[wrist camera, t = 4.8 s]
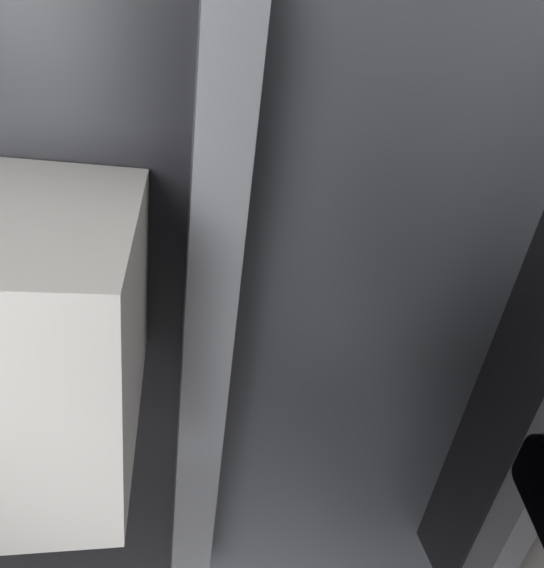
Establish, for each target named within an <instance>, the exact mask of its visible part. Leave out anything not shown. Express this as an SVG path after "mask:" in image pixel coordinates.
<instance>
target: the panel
mask: <svg viewBox="0 0 544 568" xmlns="http://www.w3.org/2000/svg"><path fill="white" fill-rule="evenodd" d="M0 157H9V158H21V159H33V160H46V161H58V162H70V163H82V164H94V165H106V166H118V167H131V168H143V169H149V197H148V277H147V343H146V352H145V361H144V371H143V380H142V389H141V398H140V407H139V417H138V426H137V435H136V444H135V453H134V463H133V472H132V481H131V490H130V499H129V509H128V518H127V527H126V536H125V545H124V547H117V548H103V549H89V550H75V551H61V552H47V553H33V554H19V555H5V556H0V568H519V567H520V565H521V563H522V562H523V560H524V558H525V556H526V554H527V553H528V551H529V549H530V547H531V546H532V544H533V542H534V540H535V539H536V537H537V533H536V531H535V528H534V526H533V524H532V522H531V519H530V517H529V515H528V512H527V510H526V508H525V506H524V503H523V501H522V499H521V497H520V494H519V492H518V490H517V488H516V485H515V483H514V481H513V478H512V473H511V468H512V464H513V462H514V460H515V458H516V455H517V453H518V451H519V449H520V447H521V445H522V443H523V441H524V439H525V438H526V437H527V436H528V435H530V434H543V433H544V0H0Z"/></svg>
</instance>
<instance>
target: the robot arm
mask: <svg viewBox="0 0 544 568" xmlns="http://www.w3.org/2000/svg"><path fill="white" fill-rule="evenodd" d="M511 473H512V478H513V481H514V483H515V485H516V488H517V490H518V492H519V494H520V497H521V499H522V501H523V503H524V506H525V508H526V510H527V512H528V515H529V517H530V519H531V522H532V524H533V526H534V528H535V531H536V533H537V535H538V537H539V540H540V542H541V544H542V546H543V549H544V433H543V434H530V435H528V436H527V437H526V438H525V439H524V441H523V443H522V445H521V447H520V449H519V451H518V453H517V455H516V458H515V460H514V462H513V464H512V468H511Z"/></svg>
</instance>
